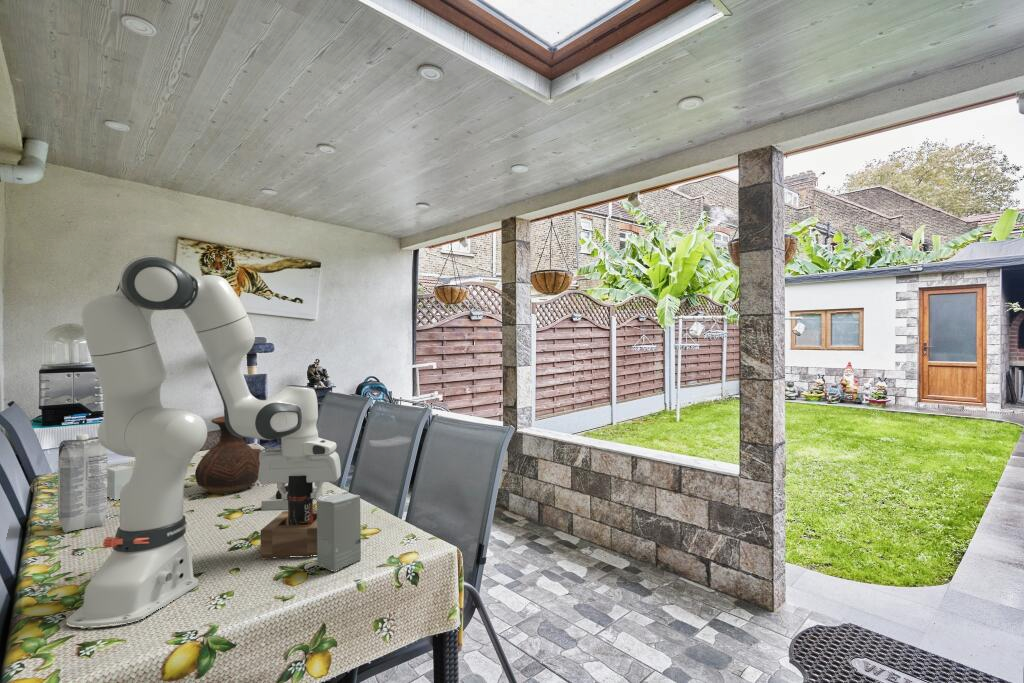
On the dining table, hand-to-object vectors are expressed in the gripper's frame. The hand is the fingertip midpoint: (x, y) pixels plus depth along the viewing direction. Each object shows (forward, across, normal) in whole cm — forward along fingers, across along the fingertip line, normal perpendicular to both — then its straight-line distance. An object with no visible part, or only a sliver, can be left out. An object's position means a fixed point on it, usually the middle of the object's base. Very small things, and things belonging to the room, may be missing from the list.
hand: (300, 499), depth 125 cm
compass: (+13, -18, +36) cm, 42 cm away
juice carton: (+12, -70, +21) cm, 74 cm away
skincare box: (+12, +13, -11) cm, 21 cm away
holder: (+12, 0, 0) cm, 12 cm away
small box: (+12, -81, +51) cm, 97 cm away
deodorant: (+9, 0, 0) cm, 9 cm away
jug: (+12, -46, +57) cm, 74 cm away
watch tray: (+12, -16, +38) cm, 43 cm away
